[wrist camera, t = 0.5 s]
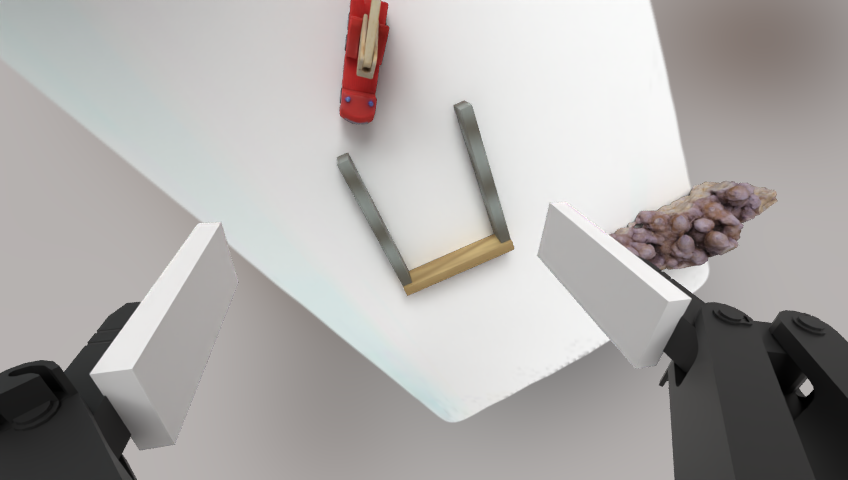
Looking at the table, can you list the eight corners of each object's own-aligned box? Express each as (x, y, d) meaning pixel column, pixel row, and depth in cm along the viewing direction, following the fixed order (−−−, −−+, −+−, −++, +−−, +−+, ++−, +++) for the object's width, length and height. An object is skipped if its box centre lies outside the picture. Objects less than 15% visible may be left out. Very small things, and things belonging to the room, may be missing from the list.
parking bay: (337, 157, 37) (337, 166, 35) (464, 100, 37) (473, 105, 34) (404, 281, 47) (407, 295, 44) (505, 237, 46) (514, 249, 44)
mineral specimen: (643, 300, 50) (686, 298, 40) (593, 245, 52) (623, 230, 42) (754, 212, 51) (824, 190, 41) (701, 161, 53) (754, 128, 43)
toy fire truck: (337, 114, 35) (336, 139, 27) (355, -58, 29) (361, -94, 21) (371, 121, 36) (380, 147, 28) (396, -45, 30) (416, -75, 22)
